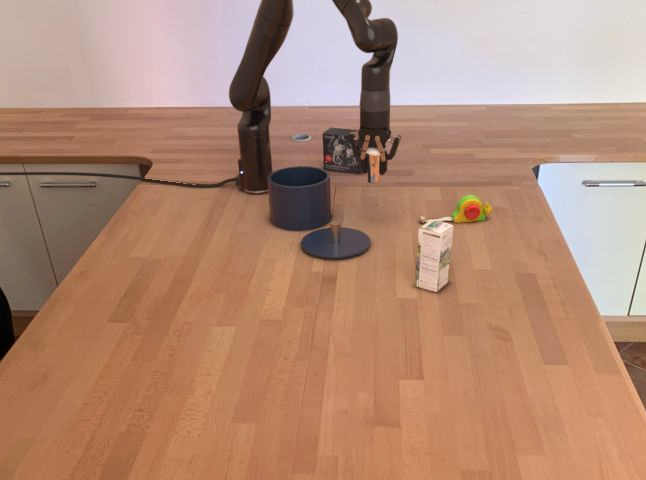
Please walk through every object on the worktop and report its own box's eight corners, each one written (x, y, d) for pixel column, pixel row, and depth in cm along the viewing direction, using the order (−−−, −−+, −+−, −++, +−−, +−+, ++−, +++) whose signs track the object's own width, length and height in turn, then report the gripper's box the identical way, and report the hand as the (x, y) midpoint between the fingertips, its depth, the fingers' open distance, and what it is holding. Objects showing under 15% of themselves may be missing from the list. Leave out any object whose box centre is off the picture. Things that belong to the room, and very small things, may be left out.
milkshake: (383, 185, 184) (385, 147, 178) (363, 183, 185) (364, 146, 179) (386, 179, 188) (387, 141, 182) (366, 177, 189) (367, 140, 183)
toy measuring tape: (494, 222, 189) (496, 199, 185) (422, 227, 188) (423, 203, 184) (488, 213, 194) (490, 190, 191) (417, 217, 193) (418, 194, 190)
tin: (261, 227, 191) (257, 184, 184) (285, 204, 204) (282, 163, 198) (318, 233, 186) (316, 190, 180) (339, 210, 199) (338, 168, 193)
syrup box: (426, 276, 164) (429, 218, 156) (449, 283, 161) (453, 223, 153) (414, 286, 160) (417, 227, 152) (437, 293, 157) (441, 233, 149)
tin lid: (290, 255, 175) (289, 232, 172) (315, 228, 189) (314, 206, 186) (358, 264, 170) (358, 241, 167) (378, 235, 184) (379, 213, 181)
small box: (322, 170, 228) (321, 133, 221) (330, 163, 233) (329, 127, 227) (361, 174, 224) (361, 136, 217) (368, 167, 229) (368, 130, 222)
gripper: (406, 104, 177) (404, 171, 186) (352, 100, 181) (352, 166, 190) (398, 112, 171) (396, 181, 180) (343, 108, 175) (343, 175, 184)
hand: (374, 173), depth 185 cm, fingers closed on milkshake, 4 cm apart
